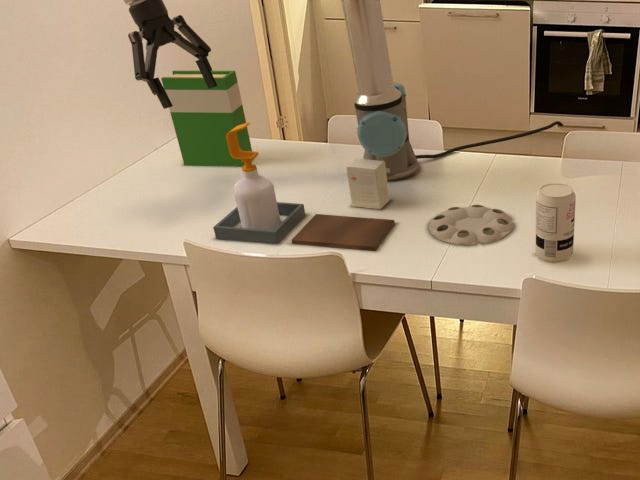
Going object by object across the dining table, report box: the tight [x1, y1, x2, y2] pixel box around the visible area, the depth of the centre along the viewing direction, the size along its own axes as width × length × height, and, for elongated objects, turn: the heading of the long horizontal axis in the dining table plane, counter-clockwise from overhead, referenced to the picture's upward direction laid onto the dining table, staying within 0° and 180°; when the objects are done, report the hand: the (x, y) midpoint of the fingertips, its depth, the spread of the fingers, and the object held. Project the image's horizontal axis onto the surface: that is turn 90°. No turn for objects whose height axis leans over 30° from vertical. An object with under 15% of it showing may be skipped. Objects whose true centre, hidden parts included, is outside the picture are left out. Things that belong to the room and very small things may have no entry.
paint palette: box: [429, 204, 514, 246], centre depth 176 cm, size 20×20×2 cm
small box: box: [345, 158, 391, 210], centre depth 186 cm, size 8×6×10 cm
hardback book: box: [160, 70, 253, 167], centre depth 209 cm, size 18×7×24 cm, turn 83°
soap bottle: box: [226, 121, 282, 231], centre depth 172 cm, size 9×9×25 cm
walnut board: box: [291, 213, 396, 252], centre depth 175 cm, size 20×14×1 cm
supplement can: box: [534, 182, 577, 263], centre depth 159 cm, size 8×8×15 cm
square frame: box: [212, 201, 306, 245], centre depth 179 cm, size 16×16×3 cm
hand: (191, 97), depth 175 cm, fingers open, 13 cm apart
